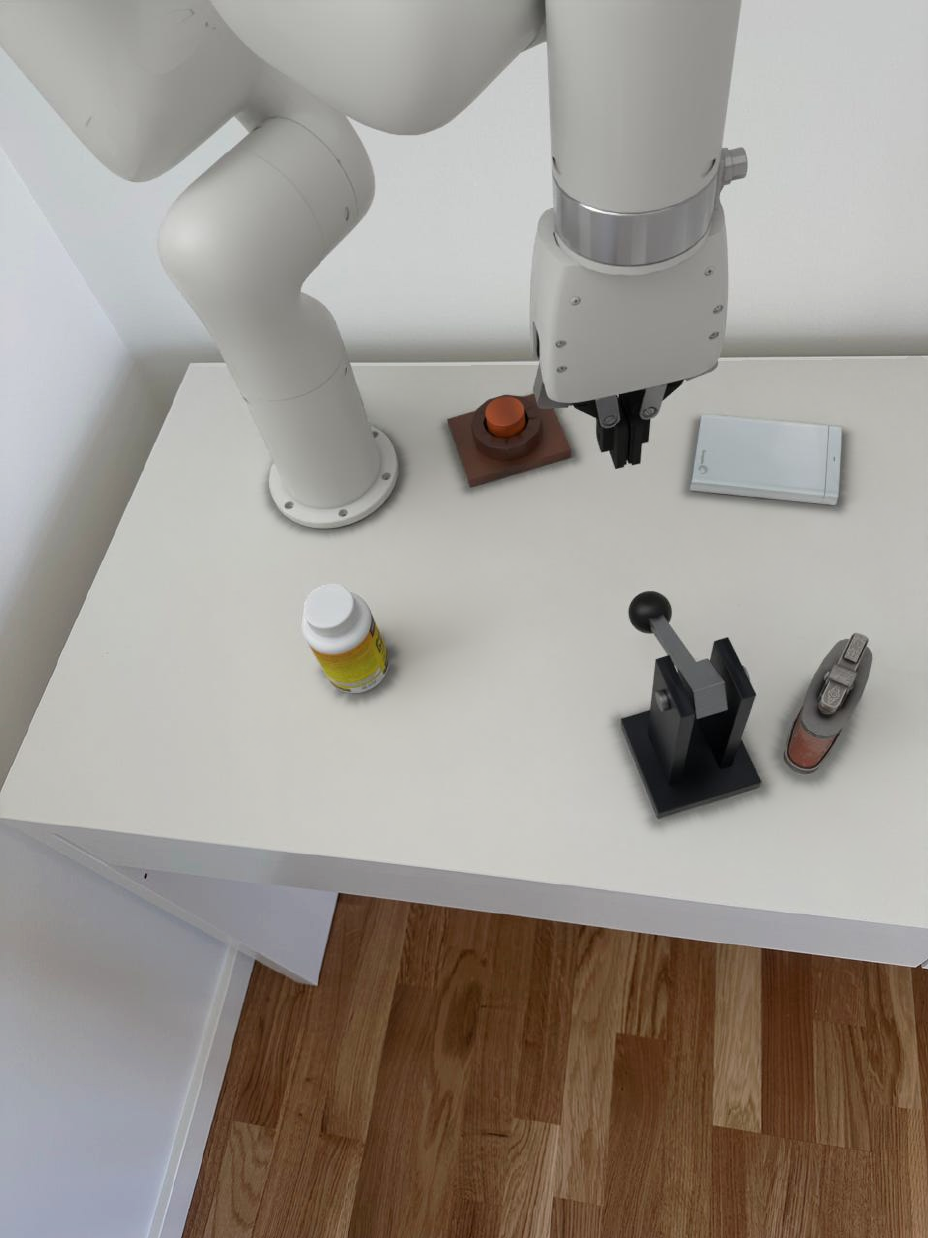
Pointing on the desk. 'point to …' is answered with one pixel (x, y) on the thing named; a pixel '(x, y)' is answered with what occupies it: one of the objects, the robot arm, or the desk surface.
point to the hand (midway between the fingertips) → (621, 449)
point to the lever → (680, 654)
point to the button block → (507, 443)
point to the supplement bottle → (344, 638)
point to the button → (505, 417)
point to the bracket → (693, 739)
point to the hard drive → (768, 459)
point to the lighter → (828, 704)
